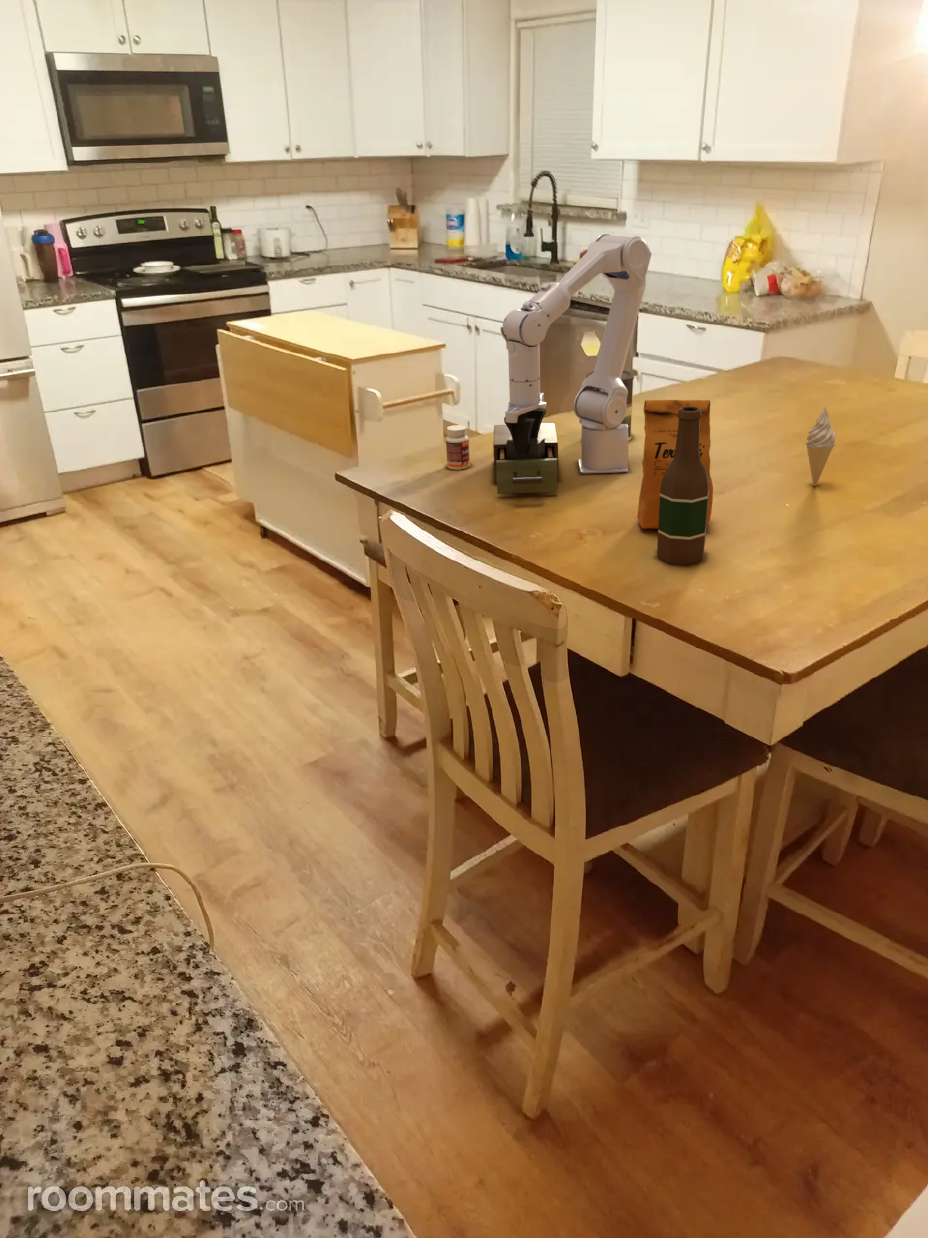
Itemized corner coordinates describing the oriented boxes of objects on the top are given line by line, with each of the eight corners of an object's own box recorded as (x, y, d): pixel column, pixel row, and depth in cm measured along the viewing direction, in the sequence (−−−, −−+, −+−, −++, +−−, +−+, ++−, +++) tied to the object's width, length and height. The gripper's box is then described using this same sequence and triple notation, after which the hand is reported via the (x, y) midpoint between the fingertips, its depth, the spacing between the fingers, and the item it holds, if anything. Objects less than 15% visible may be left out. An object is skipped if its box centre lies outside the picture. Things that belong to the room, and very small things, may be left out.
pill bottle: (467, 470, 191) (465, 430, 187) (445, 469, 191) (442, 430, 188) (471, 462, 195) (470, 424, 191) (450, 462, 196) (447, 424, 192)
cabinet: (558, 481, 181) (558, 442, 178) (494, 484, 182) (493, 444, 178) (554, 460, 193) (554, 422, 190) (495, 462, 194) (493, 424, 190)
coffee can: (626, 446, 199) (628, 381, 193) (580, 443, 203) (580, 379, 196) (636, 432, 208) (638, 369, 201) (592, 429, 211) (593, 368, 205)
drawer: (558, 500, 170) (558, 468, 167) (497, 502, 170) (496, 470, 168) (554, 470, 185) (553, 439, 182) (497, 472, 186) (496, 442, 183)
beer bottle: (650, 548, 151) (657, 403, 140) (696, 544, 151) (707, 400, 140) (663, 567, 144) (671, 417, 133) (711, 563, 144) (724, 413, 133)
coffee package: (709, 538, 153) (719, 407, 143) (634, 534, 156) (639, 406, 146) (711, 516, 162) (721, 391, 151) (639, 512, 165) (644, 390, 154)
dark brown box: (544, 455, 176) (544, 434, 174) (538, 461, 173) (537, 440, 171) (514, 452, 178) (513, 432, 176) (507, 458, 175) (506, 437, 174)
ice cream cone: (828, 481, 174) (839, 403, 167) (828, 490, 169) (840, 410, 162) (800, 480, 175) (810, 402, 168) (800, 489, 171) (810, 409, 164)
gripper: (530, 389, 161) (531, 463, 168) (558, 370, 173) (558, 440, 179) (493, 386, 164) (496, 460, 170) (523, 368, 176) (525, 437, 182)
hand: (526, 449), depth 175 cm, fingers closed on dark brown box, 3 cm apart
